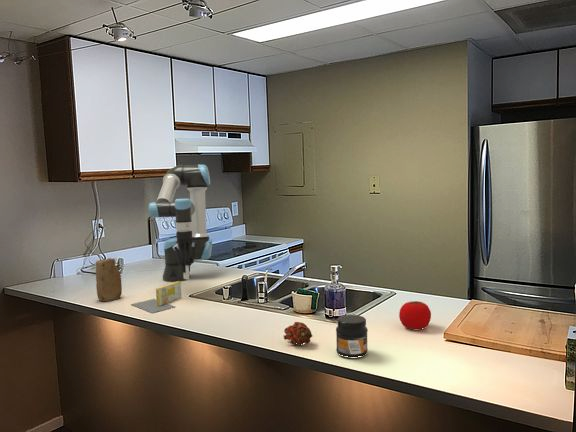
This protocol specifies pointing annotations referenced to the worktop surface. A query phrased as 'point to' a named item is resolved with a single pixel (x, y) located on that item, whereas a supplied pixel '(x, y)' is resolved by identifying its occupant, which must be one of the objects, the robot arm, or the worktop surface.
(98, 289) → the block
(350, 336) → the supplement container
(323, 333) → the worktop surface
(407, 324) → the tomato
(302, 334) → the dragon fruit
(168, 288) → the candy box
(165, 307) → the mat
